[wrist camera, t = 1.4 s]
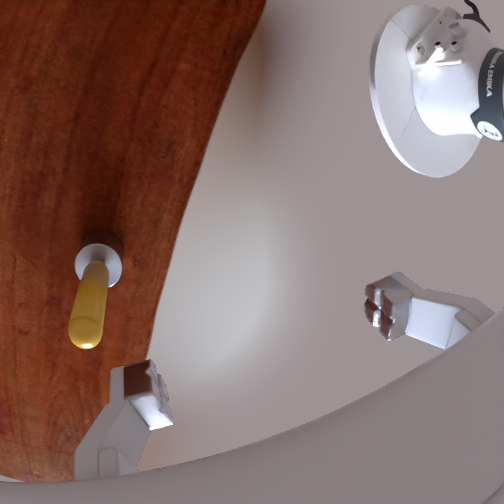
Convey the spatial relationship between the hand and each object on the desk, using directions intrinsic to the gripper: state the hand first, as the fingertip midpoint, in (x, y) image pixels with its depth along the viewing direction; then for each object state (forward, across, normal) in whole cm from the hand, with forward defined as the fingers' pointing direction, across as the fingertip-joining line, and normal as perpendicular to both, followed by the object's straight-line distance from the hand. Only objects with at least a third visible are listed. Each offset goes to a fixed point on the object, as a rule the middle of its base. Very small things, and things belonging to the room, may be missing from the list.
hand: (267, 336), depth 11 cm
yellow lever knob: (+22, +10, +4) cm, 25 cm away
